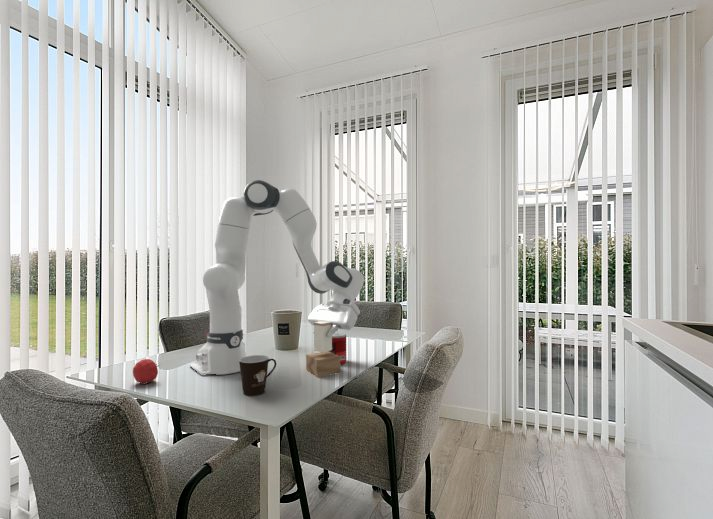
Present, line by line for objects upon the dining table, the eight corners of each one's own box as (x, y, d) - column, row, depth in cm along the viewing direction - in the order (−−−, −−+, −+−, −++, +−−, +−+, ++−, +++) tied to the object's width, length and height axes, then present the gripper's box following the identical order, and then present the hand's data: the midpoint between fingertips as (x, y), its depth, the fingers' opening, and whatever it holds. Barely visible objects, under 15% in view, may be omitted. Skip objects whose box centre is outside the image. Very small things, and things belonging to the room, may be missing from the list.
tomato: (132, 359, 114) (156, 350, 120) (126, 371, 118) (150, 361, 124) (143, 380, 112) (167, 370, 118) (137, 391, 116) (160, 380, 122)
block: (306, 371, 129) (306, 354, 129) (328, 367, 134) (328, 351, 134) (317, 377, 122) (316, 360, 122) (340, 373, 126) (340, 356, 126)
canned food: (347, 359, 143) (347, 332, 143) (345, 365, 135) (344, 336, 135) (328, 359, 144) (328, 332, 144) (325, 365, 136) (324, 336, 136)
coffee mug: (240, 399, 102) (240, 364, 102) (237, 389, 110) (237, 357, 110) (281, 393, 107) (281, 359, 107) (275, 384, 115) (275, 353, 115)
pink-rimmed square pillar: (313, 350, 128) (313, 322, 128) (322, 348, 131) (322, 320, 131) (323, 352, 125) (323, 323, 125) (332, 349, 128) (332, 322, 128)
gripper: (315, 298, 140) (296, 327, 132) (356, 301, 127) (338, 333, 120) (323, 308, 143) (305, 337, 136) (364, 312, 131) (347, 344, 123)
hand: (321, 335), depth 127 cm, fingers closed on pink-rimmed square pillar, 4 cm apart
